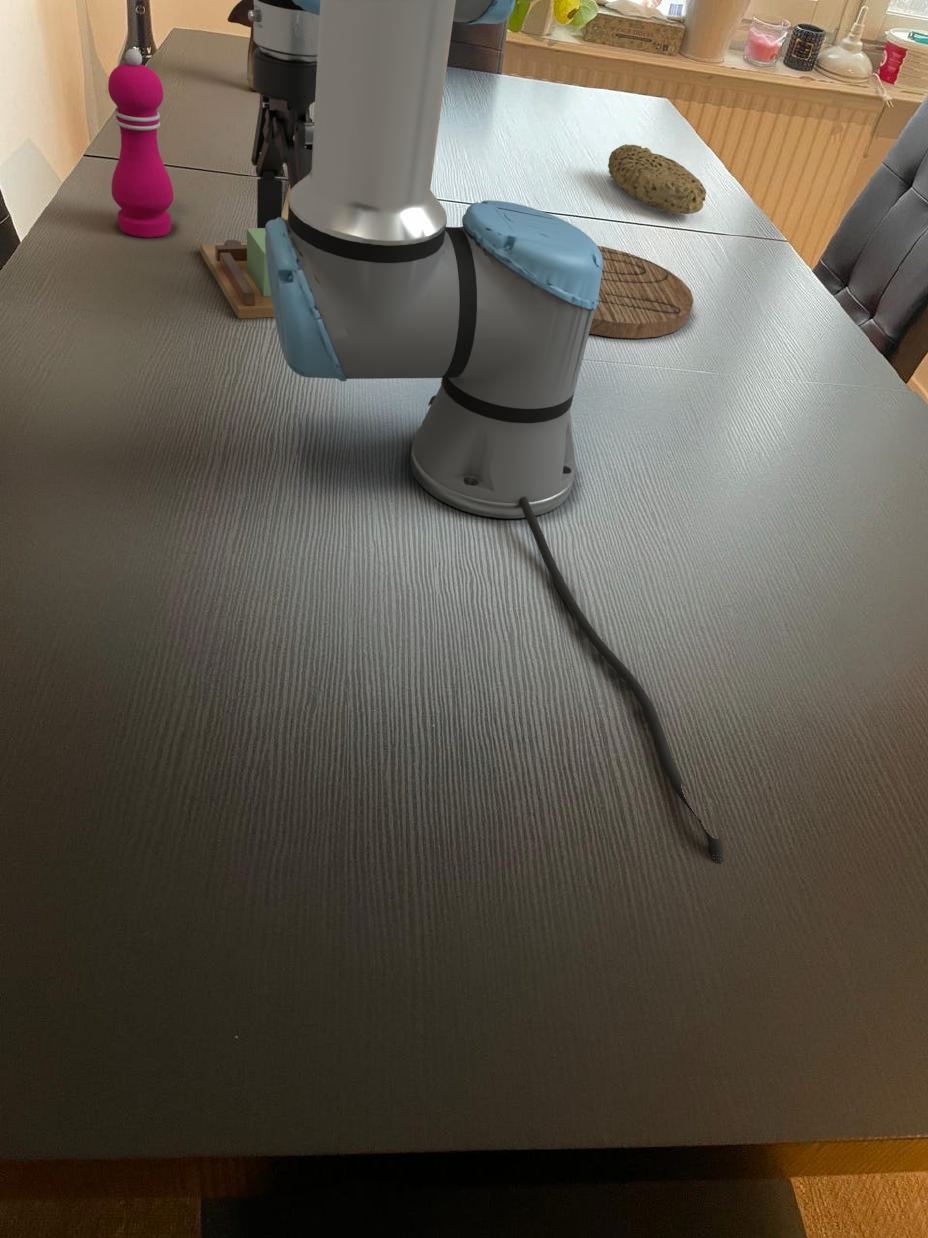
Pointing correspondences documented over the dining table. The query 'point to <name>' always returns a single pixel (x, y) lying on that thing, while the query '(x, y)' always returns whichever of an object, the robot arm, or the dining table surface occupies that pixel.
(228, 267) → the wooden tray
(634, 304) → the trivet
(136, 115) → the pepper mill
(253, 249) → the green block
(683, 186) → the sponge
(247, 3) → the decorative mushroom
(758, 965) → the dining table surface
